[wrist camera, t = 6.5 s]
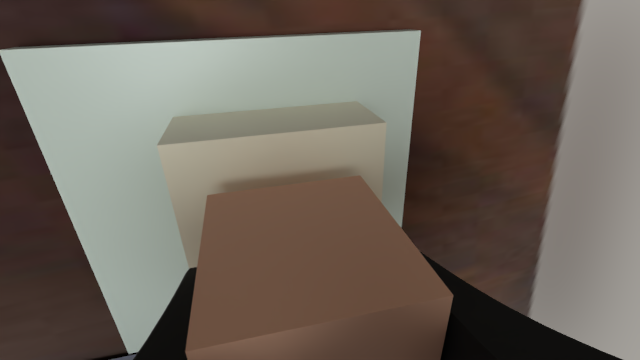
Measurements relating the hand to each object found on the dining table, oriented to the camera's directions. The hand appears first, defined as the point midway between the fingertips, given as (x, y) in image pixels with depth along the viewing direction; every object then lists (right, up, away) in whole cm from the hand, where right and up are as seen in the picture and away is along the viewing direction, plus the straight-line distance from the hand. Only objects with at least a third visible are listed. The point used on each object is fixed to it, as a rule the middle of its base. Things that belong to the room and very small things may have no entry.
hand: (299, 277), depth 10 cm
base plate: (-2, +2, +6) cm, 7 cm away
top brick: (0, +1, +1) cm, 1 cm away
